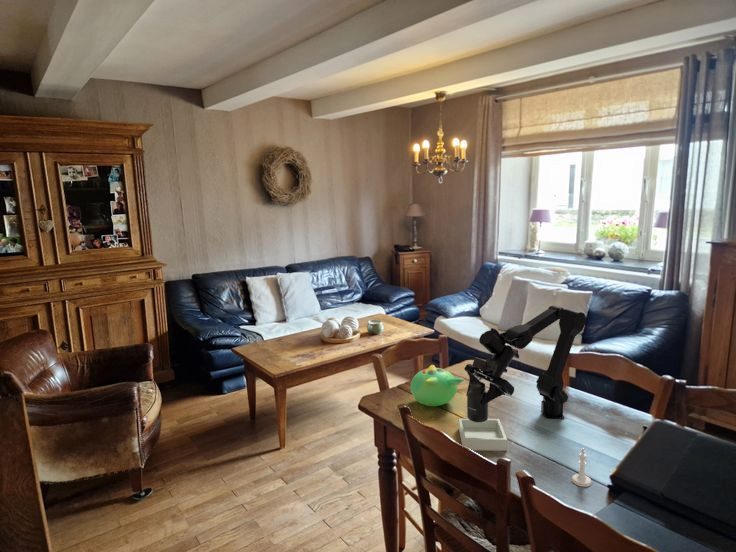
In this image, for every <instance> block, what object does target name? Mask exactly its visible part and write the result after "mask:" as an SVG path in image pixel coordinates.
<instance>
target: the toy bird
mask: <svg viewBox="0 0 736 552" xmlns="http://www.w3.org/2000/svg"><path fill="white" fill-rule="evenodd" d="M463 382H465V379H464V378H461V377H455V376H454V375H453V374H452V373H451V372H450V371H448V370H446V369H444V368H440V367H436V366H435V365H434V364H431V365H429V366H428V367H427V368H424V369H422V370H420V371H418V372H417V373H416V374H415V375H414V376H413V377H412V380H411V381H410V391H411V394H412V397H413V398H414V399H415V400H416V401H417V402H418V403H420V404H421V405H424V406H427V407H441V406H444V405H446V404H448V403H450V402H451V401H452V400H453V398H455V395H456V394H457V390H458V385H460V384H462V383H463Z"/></svg>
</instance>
